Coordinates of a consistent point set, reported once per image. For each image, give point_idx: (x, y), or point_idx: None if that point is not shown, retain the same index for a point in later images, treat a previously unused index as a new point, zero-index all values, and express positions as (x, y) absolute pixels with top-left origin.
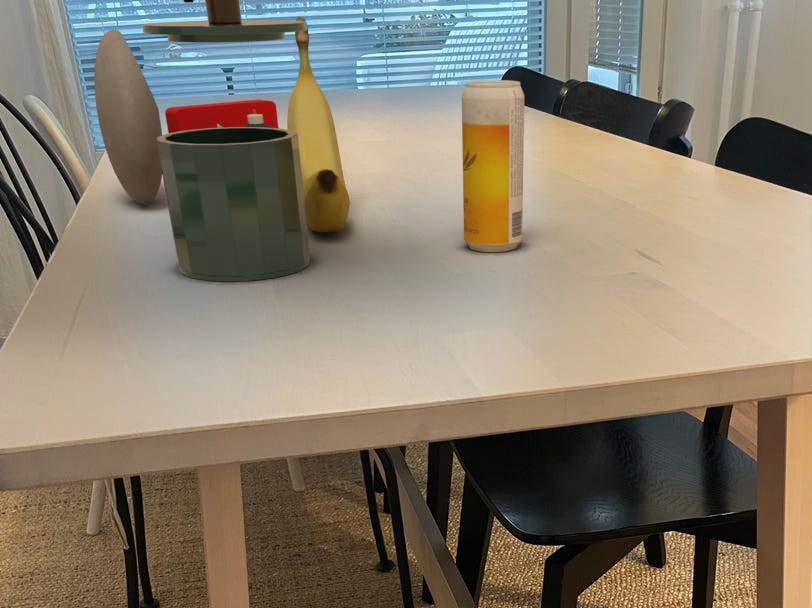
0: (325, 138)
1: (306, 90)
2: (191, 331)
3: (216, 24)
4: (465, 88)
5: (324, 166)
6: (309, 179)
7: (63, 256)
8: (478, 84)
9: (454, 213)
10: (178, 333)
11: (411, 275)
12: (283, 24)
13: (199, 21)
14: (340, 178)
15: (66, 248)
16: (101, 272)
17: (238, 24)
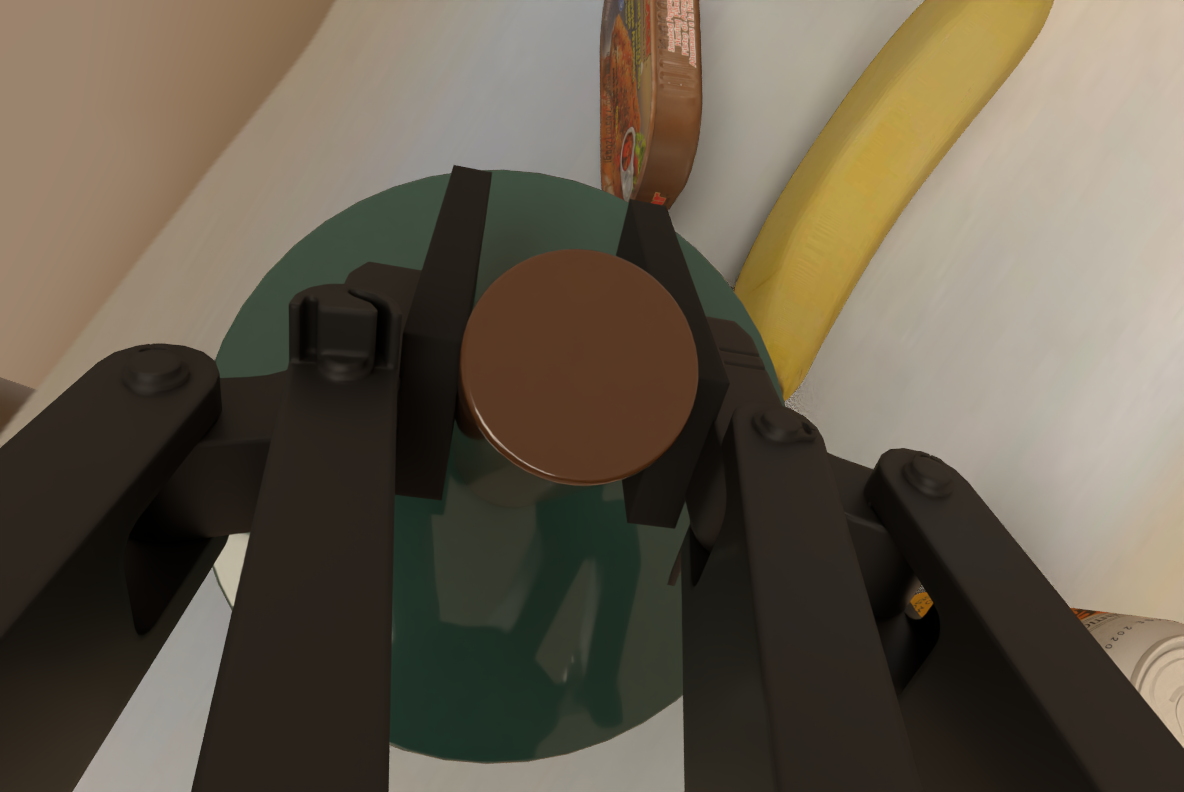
0: (936, 136)
1: (1004, 6)
2: (136, 786)
3: (402, 566)
4: (1125, 674)
5: (862, 214)
6: (756, 312)
7: (279, 90)
8: (1175, 671)
9: (1043, 354)
10: (110, 782)
11: (678, 723)
12: (579, 749)
13: (545, 221)
14: (806, 364)
15: (319, 34)
16: (262, 262)
17: (447, 648)
